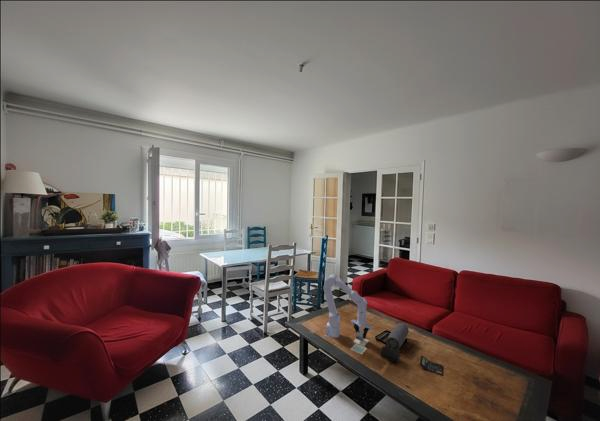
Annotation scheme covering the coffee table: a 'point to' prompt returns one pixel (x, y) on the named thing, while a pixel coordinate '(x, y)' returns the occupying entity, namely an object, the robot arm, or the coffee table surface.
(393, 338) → the bluetooth speaker
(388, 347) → the end cap
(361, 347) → the stand
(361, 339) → the block
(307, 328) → the coffee table surface
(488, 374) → the coffee table surface
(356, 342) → the stand
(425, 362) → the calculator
